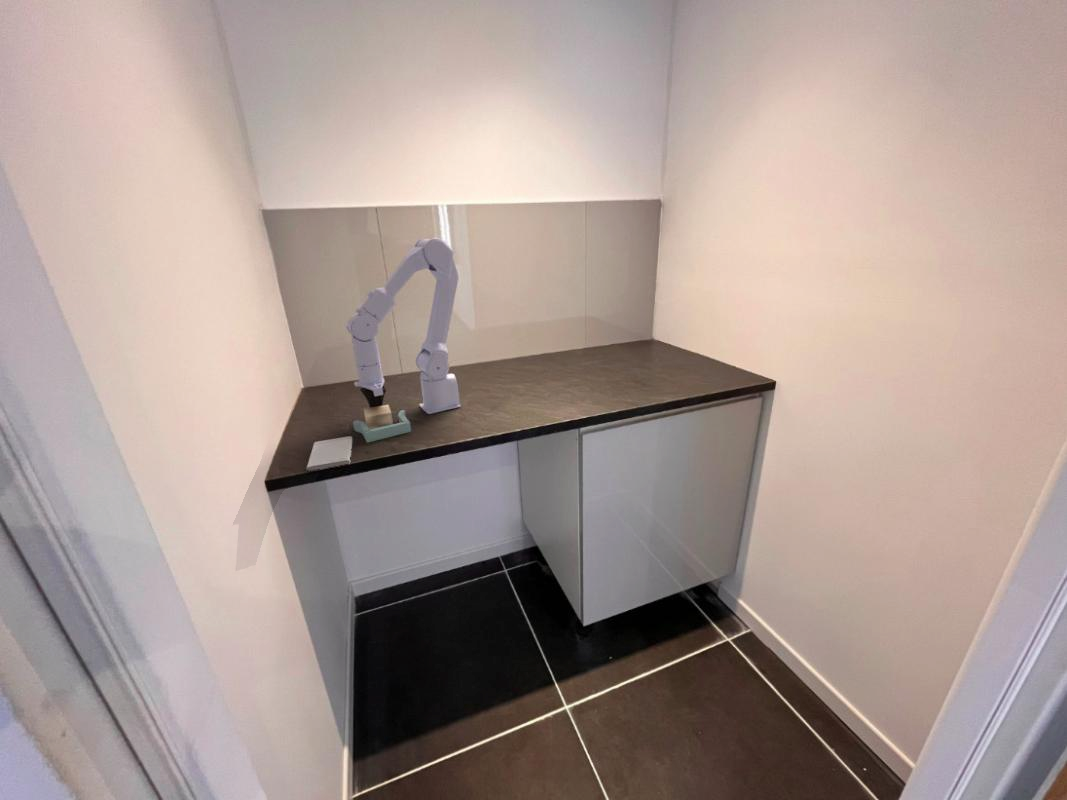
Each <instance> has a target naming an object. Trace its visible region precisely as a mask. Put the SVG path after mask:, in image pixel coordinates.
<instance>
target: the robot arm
mask: <svg viewBox="0 0 1067 800" xmlns="http://www.w3.org/2000/svg"><path fill="white" fill-rule="evenodd" d="M427 269H428V270H429V272H430V273H431V274H432V276H433V277H434V278H435V280H436V283H435V287H434V293H433V299H432V303H431V304H432V305H431V310H430V315H429V322H428V325H427V326H428V328H427V331H426V332H427V333H426V338H425V340H424V341H423V343H422V344H421V349H420V351H419V352H418V354H416V357H415V364H416V367H417V368H418V370H419V371H420V375H419V379H420V387H421V395H422V401H423V402H422V403H419V404H418V406H419V407H420V408H421V409H422V410H423V411H424V412H425V413H426V414H427V415H432V414H435V413H439V412H445V411H447V410H448V411H449V410H451V409H457V408H461V407H462V406H461V404H460V394H459V385H458V384H459V383H458V381H457V378H456V376H455V374H454V373H449V371H450V363H449V361H448V360H449V359H448V358H449V350H448V347H447V340H448V336H449V335H448V334H449V331H450V330H449V329H450V323H451V320H452V319H451V318H452V313H453V308H454V302H455V297H456V292H457V288H458V287H457V286H458V282H459V273H458V271H457V267H456V264H455V260H454V251H453V250H452V248H451V247H450V245H449V244H448V243H447V242H446V241H445V240H443V239H442V238H439V237H433V238H421V239H418V240H417V242H416V243H415V245H414V246H412V247H411V248H410V249H409V250H408V252H407V253H406V255H405V256H404V257H403V259H402V260H401V261H400V263H399V265H398V266H397V268H396V269H395V270H394V271H393V273H392V274H391V276H390V277H389V279H388V280H387V282H386V283H385V284H384V286H383V287H376V288H374V289H373V291H372V290H369V291H368V293H367V294H366V295H367V296H368V297H367V298H366V300H365V301H364V302H363V304H362V305H361V306H360V307H357V308H356V309H355V314H352V316H350V317H349V319H348V321H347V325H346V329H347V331H348V333H350V335H351V343H352V351H353V356H354V360H355V366H356V370H357V377H358V381H355V382H354V383H353V384H354V386H355V387H356V388H357V387H361V388H360V389H359V390H360V392H361V394H362V395H363V396H364V398H365V399H366V401H367V404H368V408H371V407H377V406H383V405H384V398H385V395H386V392H387V389H386V387H385V385H384V384H385V383H386V382H385V378H384V376H383V375H384V374H383V369H382V363H381V362H382V361H381V357H380V351H379V346H378V341H377V335H378V333H379V327H378V326H380V325H381V324H382V322H383V321H384V320H385V319H386V318H387V316H388V315H389V314H390V312H391V311H392V310H393V308H394V307H395V305H396V296H397V295H398V293H399V292H400V291H401V289H402V288H403V287H404V286H405V285H406V284H407V282H409V280H410V279H411V278H412V277H413V276H414V275H415V273H416V272H419V271H423V270H427Z"/></svg>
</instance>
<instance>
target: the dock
mask: <svg viewBox="0 0 1067 800" xmlns="http://www.w3.org/2000/svg"><path fill="white" fill-rule="evenodd" d="M397 416H398V422H397V423H393V424H392V425H388V426H384V427H379V428H375V429H371V430H369V428H368V427H367V425H366V421H363V420H362V421H361V420H359V419H355V420H354V421H352V423H353V429H354V431H355V432H357V433H360V434H362V436H363V438H364V439H365V442H366V443H371V442H375V441H378V440H384V439H387V438H391V437H395V436H399V435H404V434H407V433H412V427H411V422H410V420H409V419H408V418H407V417H406V416H407V414H406V409H402V410H401V409H400V410H399V412H398V415H397Z"/></svg>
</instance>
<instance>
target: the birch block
mask: <svg viewBox="0 0 1067 800" xmlns="http://www.w3.org/2000/svg"><path fill="white" fill-rule="evenodd" d="M363 414H364V419H365V423H366V425H367V427H368V428H369V430H371V429H375V428H379V427H384V426H388V425H392V424H394V423H393V416H392V411H391V408H390V406H389V404H383V406H377V407H371V408H370V407H367V408H363Z"/></svg>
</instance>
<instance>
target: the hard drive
mask: <svg viewBox="0 0 1067 800" xmlns="http://www.w3.org/2000/svg"><path fill="white" fill-rule="evenodd" d="M352 448H353V436H350V435H349V436H343V437H337V438H332V439H331V438H330V439H325V440H319V441H315V442H313V445H312V450H311V453H310V455H309V458H308V462H307V465H306V470H307V469H320V470H325V468H326V469H329V468H328V467H332V466H336V465H342V464H348V465H350V464H351V460H350V457H351V458H352V450H351V449H352ZM332 468H333V467H332Z"/></svg>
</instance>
